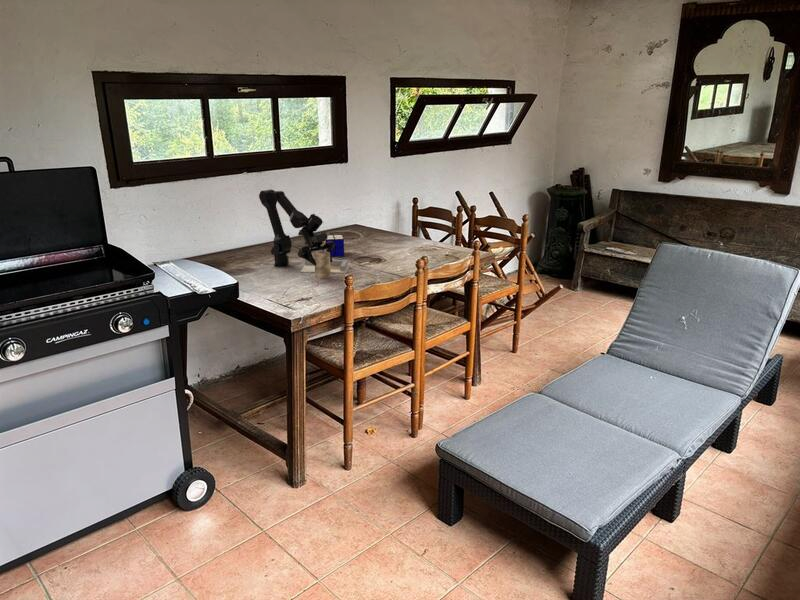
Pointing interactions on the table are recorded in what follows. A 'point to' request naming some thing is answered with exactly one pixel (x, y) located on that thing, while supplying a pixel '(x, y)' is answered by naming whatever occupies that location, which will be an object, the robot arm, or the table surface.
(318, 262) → the birch block
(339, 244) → the puzzle cube
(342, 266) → the tray
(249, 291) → the table surface
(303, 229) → the robot arm
